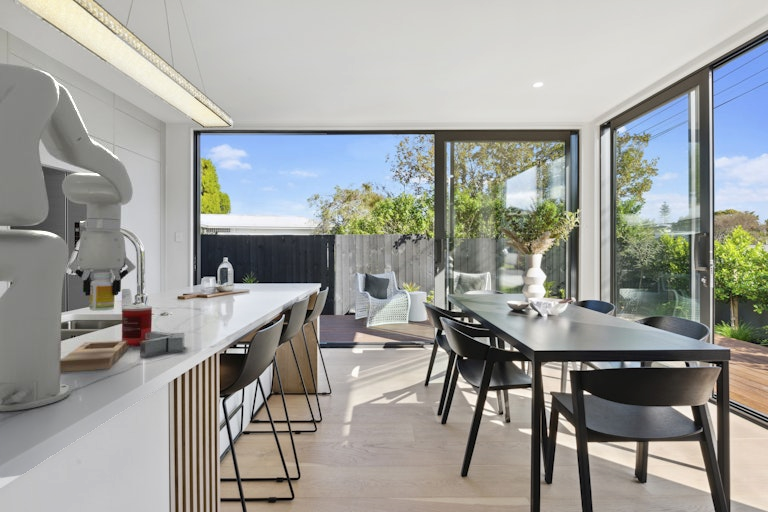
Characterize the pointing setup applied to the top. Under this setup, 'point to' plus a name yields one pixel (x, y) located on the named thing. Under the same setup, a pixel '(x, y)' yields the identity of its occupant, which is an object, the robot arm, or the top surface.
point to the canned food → (136, 324)
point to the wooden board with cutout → (93, 356)
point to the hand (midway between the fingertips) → (102, 294)
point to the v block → (161, 343)
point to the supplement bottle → (101, 292)
